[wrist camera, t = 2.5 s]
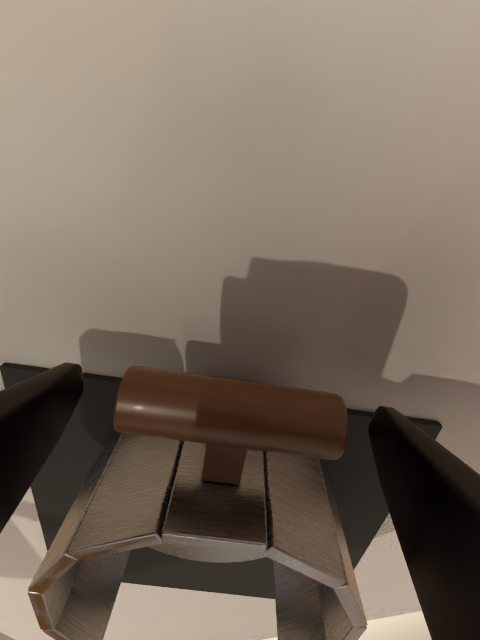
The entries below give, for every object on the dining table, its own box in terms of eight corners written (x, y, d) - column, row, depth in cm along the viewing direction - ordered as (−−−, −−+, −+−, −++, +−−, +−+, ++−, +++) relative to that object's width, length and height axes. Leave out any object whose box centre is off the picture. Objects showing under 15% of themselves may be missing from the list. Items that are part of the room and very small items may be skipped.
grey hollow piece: (106, 538, 17) (54, 671, 12) (84, 310, 10) (-39, 413, 6) (297, 560, 17) (313, 696, 13) (388, 354, 11) (485, 481, 6)
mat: (56, 569, 21) (41, 600, 20) (4, 362, 13) (-28, 387, 12) (330, 600, 22) (336, 632, 20) (439, 421, 14) (462, 452, 12)
